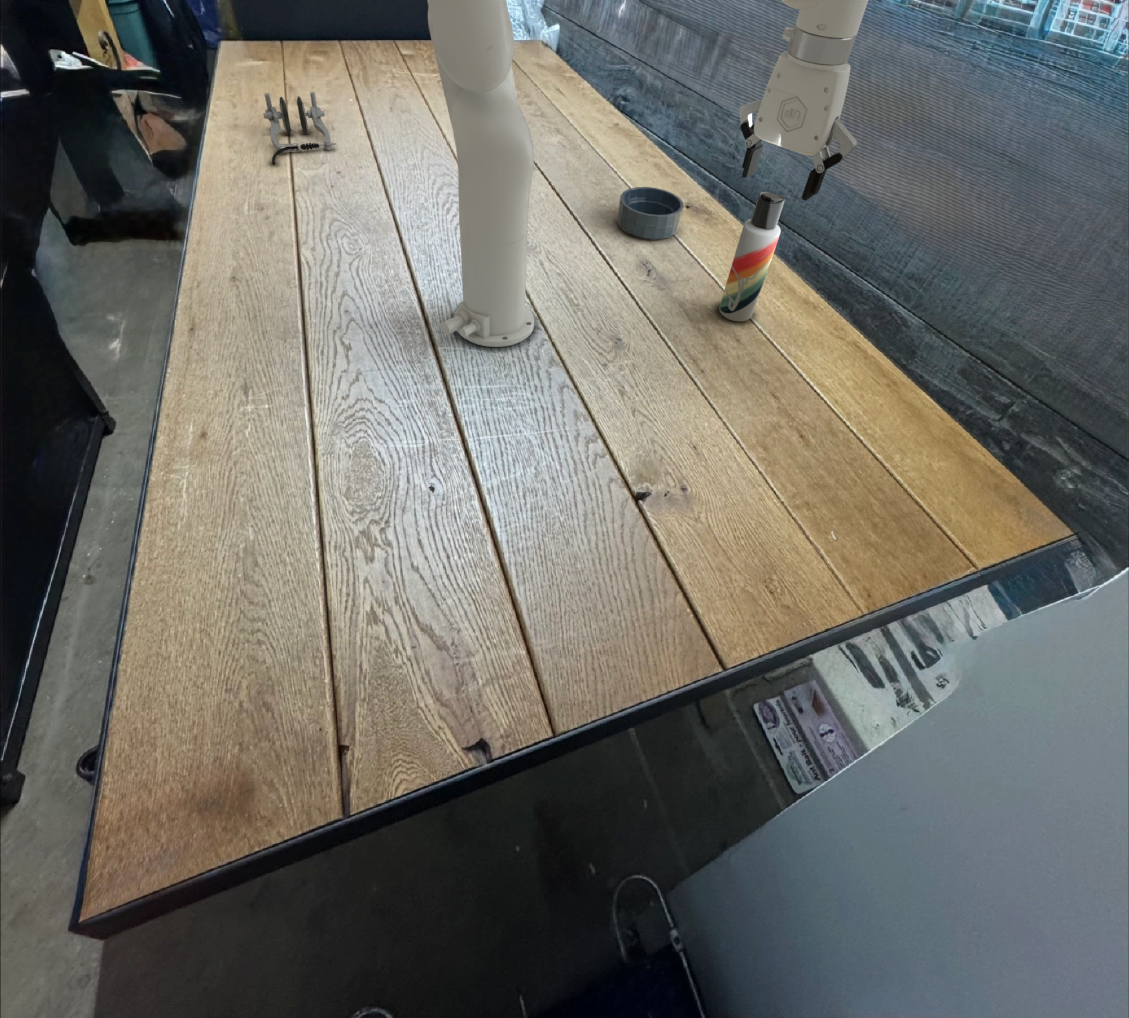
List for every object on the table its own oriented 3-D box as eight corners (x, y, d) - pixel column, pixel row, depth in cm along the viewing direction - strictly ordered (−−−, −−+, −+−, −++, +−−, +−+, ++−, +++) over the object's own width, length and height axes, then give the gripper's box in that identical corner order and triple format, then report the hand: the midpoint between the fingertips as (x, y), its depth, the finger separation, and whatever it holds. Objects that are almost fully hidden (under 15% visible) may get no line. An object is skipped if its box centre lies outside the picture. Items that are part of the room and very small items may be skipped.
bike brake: (261, 121, 144) (275, 174, 135) (254, 88, 138) (267, 141, 129) (325, 119, 148) (342, 170, 139) (321, 87, 142) (338, 138, 133)
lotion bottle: (714, 315, 110) (749, 195, 95) (724, 299, 114) (760, 181, 98) (746, 326, 109) (786, 206, 93) (755, 310, 112) (796, 192, 97)
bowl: (655, 248, 123) (660, 222, 120) (604, 225, 128) (607, 199, 124) (689, 227, 130) (695, 202, 126) (639, 206, 134) (644, 181, 131)
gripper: (746, 35, 83) (713, 174, 96) (874, 71, 77) (820, 215, 90) (773, 25, 87) (738, 160, 100) (897, 59, 81) (843, 198, 94)
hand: (777, 185), depth 95 cm, fingers open, 9 cm apart
